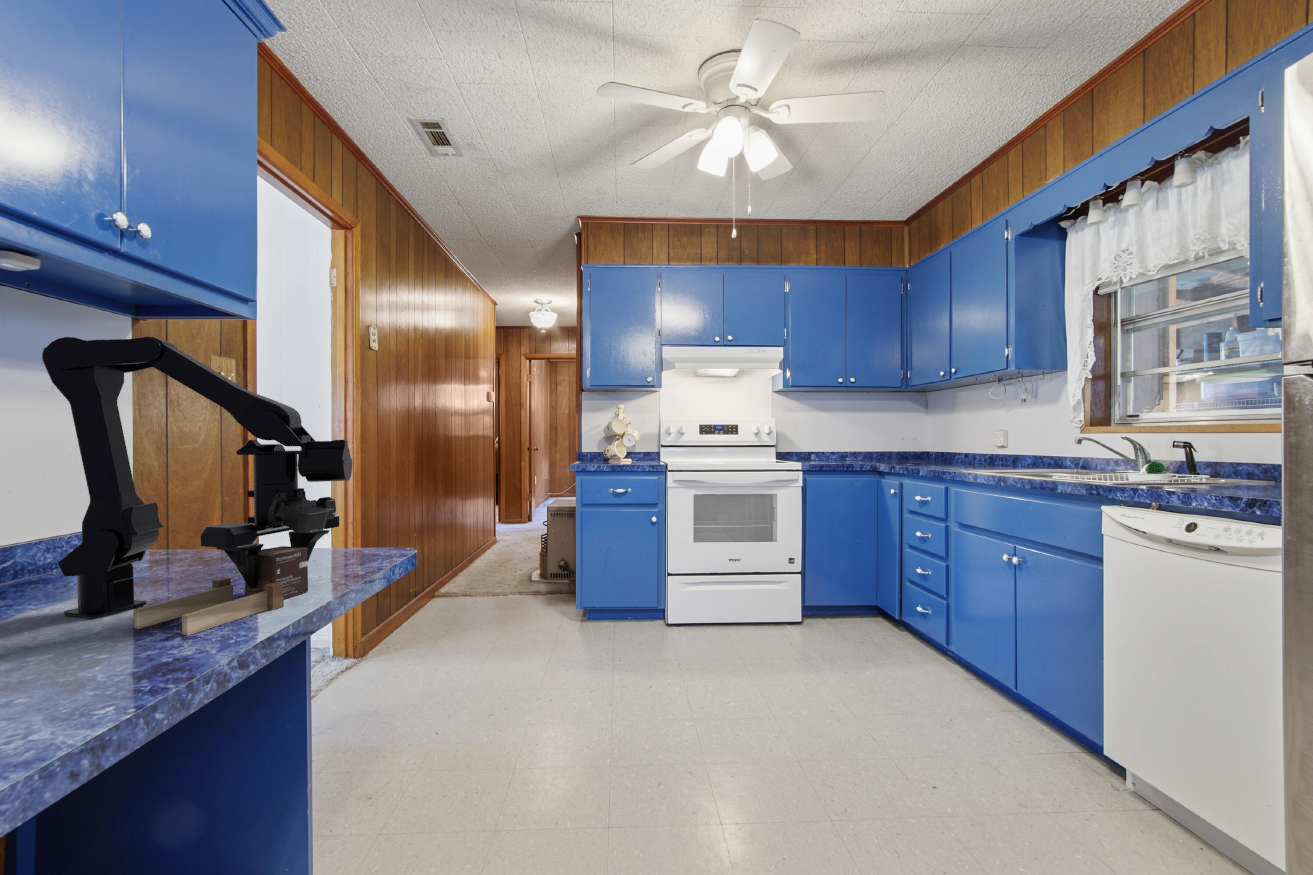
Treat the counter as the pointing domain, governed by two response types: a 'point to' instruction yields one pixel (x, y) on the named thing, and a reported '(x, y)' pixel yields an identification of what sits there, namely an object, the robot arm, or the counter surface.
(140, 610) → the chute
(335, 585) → the counter surface
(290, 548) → the box
